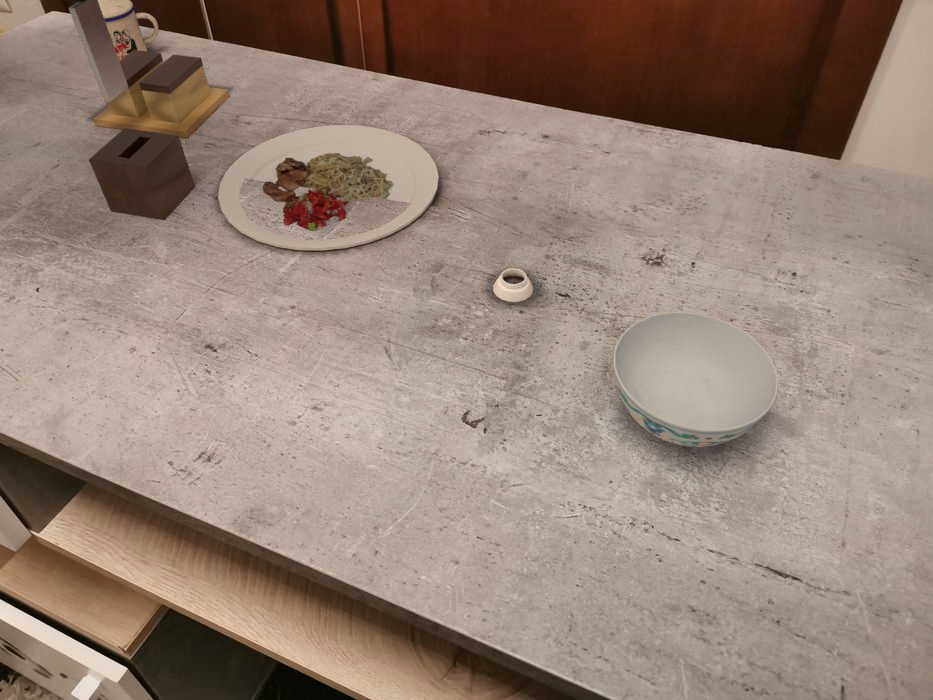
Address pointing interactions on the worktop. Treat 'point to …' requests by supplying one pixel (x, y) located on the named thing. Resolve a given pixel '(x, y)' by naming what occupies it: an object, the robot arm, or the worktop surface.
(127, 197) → the knife block
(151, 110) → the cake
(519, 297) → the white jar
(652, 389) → the chinaware
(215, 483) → the worktop surface
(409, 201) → the plated food
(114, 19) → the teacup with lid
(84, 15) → the cake knife
